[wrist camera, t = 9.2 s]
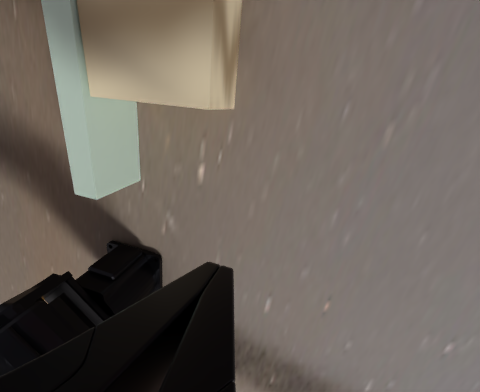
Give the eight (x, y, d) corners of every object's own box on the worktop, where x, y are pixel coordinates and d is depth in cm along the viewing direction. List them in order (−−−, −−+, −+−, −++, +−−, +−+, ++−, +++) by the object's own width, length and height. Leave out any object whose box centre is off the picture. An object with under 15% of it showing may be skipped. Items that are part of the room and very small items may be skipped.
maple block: (234, 108, 17) (209, 109, 13) (141, 98, 19) (90, 96, 15) (245, -30, 14) (216, -92, 10) (133, -27, 16) (65, -79, 11)
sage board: (140, 180, 22) (96, 199, 17) (122, 176, 22) (74, 194, 18) (124, -134, 14) (36, -249, 9) (96, -132, 14) (-1, -241, 10)
